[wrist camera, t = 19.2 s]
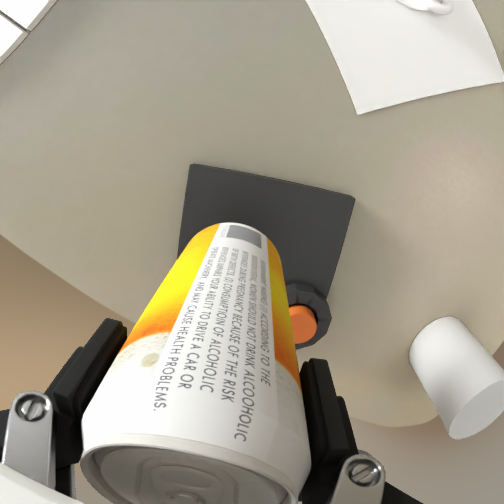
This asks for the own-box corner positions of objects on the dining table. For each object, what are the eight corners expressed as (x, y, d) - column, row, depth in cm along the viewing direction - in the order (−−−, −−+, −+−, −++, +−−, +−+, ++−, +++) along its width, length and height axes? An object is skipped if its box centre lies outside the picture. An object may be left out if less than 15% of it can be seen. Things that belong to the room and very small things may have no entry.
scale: (314, 335, 32) (319, 352, 29) (174, 310, 31) (167, 326, 28) (356, 197, 27) (367, 203, 24) (193, 163, 26) (185, 166, 23)
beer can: (180, 300, 21) (92, 508, 6) (189, 211, 19) (35, 390, 4) (270, 316, 21) (279, 543, 7) (290, 229, 19) (359, 452, 5)
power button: (308, 336, 29) (311, 346, 27) (275, 331, 28) (276, 341, 27) (318, 307, 28) (321, 316, 26) (283, 301, 27) (285, 310, 26)
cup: (445, 371, 34) (484, 434, 22) (398, 369, 33) (434, 442, 22) (473, 320, 31) (526, 377, 20) (427, 312, 31) (480, 380, 19)
